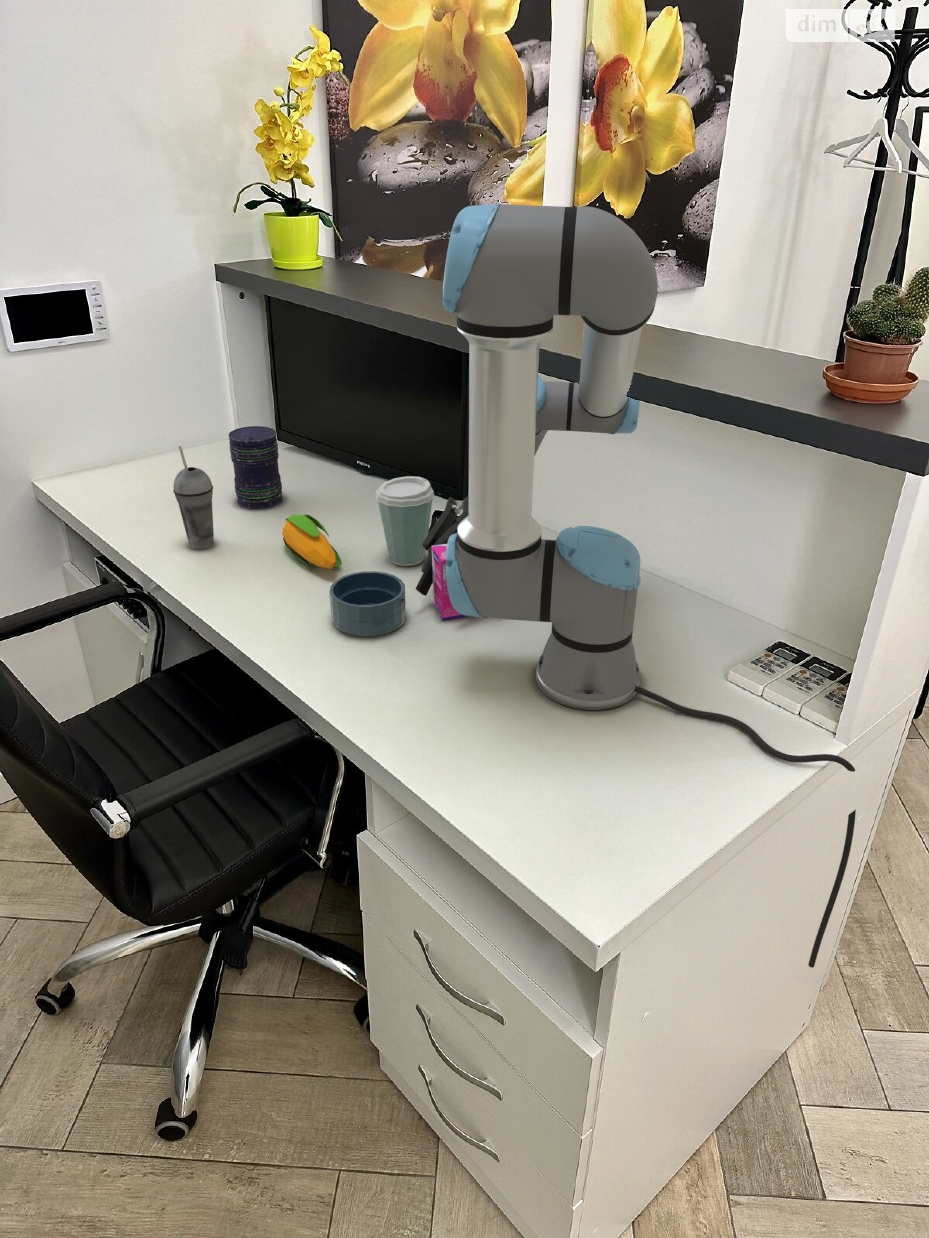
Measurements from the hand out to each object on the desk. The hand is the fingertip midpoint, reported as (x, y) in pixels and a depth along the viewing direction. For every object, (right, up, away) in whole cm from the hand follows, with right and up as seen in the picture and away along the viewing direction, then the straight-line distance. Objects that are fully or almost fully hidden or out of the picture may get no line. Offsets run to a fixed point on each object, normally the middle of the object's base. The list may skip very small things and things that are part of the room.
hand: (440, 599), depth 147 cm
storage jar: (-40, +22, +45) cm, 64 cm away
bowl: (-12, -3, +1) cm, 12 cm away
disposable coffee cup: (-7, +8, +21) cm, 24 cm away
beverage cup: (-47, +11, +26) cm, 55 cm away
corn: (-24, +8, +20) cm, 33 cm away
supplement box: (+2, -2, +4) cm, 5 cm away
